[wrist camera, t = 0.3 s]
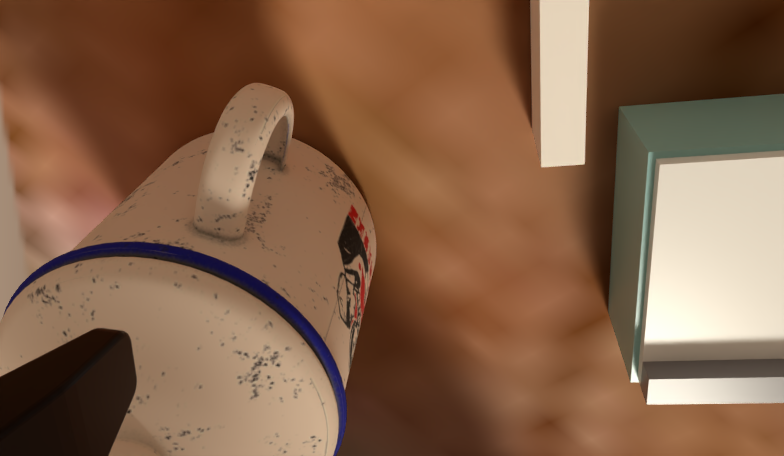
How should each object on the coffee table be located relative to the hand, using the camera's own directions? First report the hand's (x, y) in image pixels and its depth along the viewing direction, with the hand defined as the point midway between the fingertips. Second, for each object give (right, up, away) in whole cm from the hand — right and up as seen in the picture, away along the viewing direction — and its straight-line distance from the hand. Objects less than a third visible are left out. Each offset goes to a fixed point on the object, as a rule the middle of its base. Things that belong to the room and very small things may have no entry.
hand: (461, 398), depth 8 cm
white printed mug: (-5, +3, +15) cm, 16 cm away
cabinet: (+10, +3, +13) cm, 17 cm away
